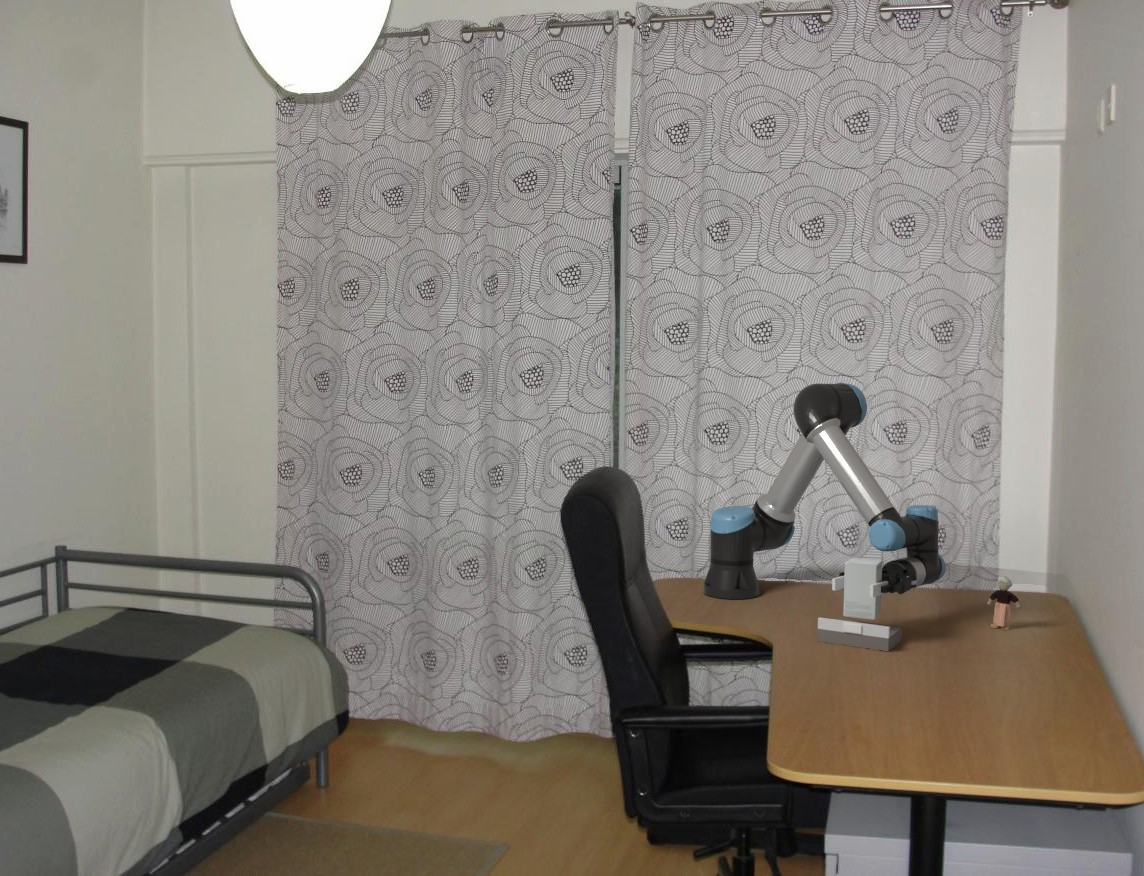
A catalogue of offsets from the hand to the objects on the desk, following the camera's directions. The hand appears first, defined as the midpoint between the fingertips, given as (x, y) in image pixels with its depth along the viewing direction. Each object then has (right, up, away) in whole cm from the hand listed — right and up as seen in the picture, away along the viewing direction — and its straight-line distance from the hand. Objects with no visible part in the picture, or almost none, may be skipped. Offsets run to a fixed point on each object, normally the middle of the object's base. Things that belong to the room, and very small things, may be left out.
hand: (852, 587), depth 246 cm
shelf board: (+3, -13, +3) cm, 13 cm away
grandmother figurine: (+40, -12, +16) cm, 45 cm away
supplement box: (+3, -7, +4) cm, 9 cm away
